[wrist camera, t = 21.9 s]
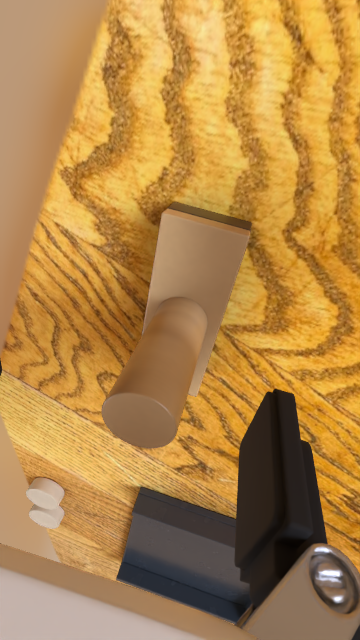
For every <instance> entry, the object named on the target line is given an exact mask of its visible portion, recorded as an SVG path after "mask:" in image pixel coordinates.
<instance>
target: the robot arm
mask: <svg viewBox="0 0 360 640" xmlns="http://www.w3.org/2000/svg"><path fill="white" fill-rule="evenodd" d="M1 373H2V366H1V360H0V376H1ZM234 561H235V566H236V567H238V568H240V581H242V582H245V583H248V584H250V599H251V601H252V604H251V605H250V606H249V608H248V609H247V610H246V611H245V612H244V614H243V615H242V616H241V617H240V618H239V620H238V621H237V622H236V623H235V624H234V625H233V624H231V623H229V622H226V621H224V620H222V619H219V618H217V617H214V616H212V615H210V614H207V613H205V612H202V611H200V610H197V609H194V608H191V607H188V606H186V605H183V604H180V603H177V602H174V601H171V600H169V599H166V598H163V597H160V596H157V595H154V594H152V593H149V592H146V591H143V590H140V589H137V588H134V587H131V586H128V585H125V584H122V583H119V582H116V581H113V580H110V579H107V578H104V577H101V576H98V575H95V574H92V573H89V572H86V571H83V570H80V569H77V568H74V567H71V566H68V565H65V564H62V563H58V562H55V561H53V560H50V559H47V558H43V557H40V556H37V555H34V554H31V553H28V552H25V551H22V550H19V549H16V548H13V547H10V546H7V545H3V544H1V543H0V640H360V574H359V572H358V570H357V568H356V567H355V566H354V564H353V563H352V562H351V561H350V559H349V558H348V557H347V556H346V555H344V554H343V553H342V552H341V551H340V550H338V549H337V548H335V547H333V546H331V545H328V544H327V538H326V532H325V526H324V520H323V514H322V508H321V502H320V496H319V490H318V484H317V478H316V472H315V466H314V460H313V454H312V449H311V446H310V444H309V443H308V442H306V441H303V440H301V439H300V431H299V424H298V417H297V410H296V403H295V397H294V394H292V393H288V392H285V391H282V390H278V389H275V390H274V391H273V392H267V393H266V395H265V397H264V399H263V401H262V402H261V404H260V406H259V408H258V410H257V412H256V414H255V416H254V418H253V420H252V422H251V424H250V426H249V428H248V430H247V432H246V434H245V436H244V437H243V439H242V442H241V445H240V451H239V471H238V493H237V514H236V536H235V559H234Z"/></svg>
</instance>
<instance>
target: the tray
mask: <svg viewBox="0 0 360 640" xmlns="http://www.w3.org/2000/svg"><path fill="white" fill-rule="evenodd" d="M132 515H133V519H132V523H131V527H130V531H129V535H128V539H127V543H126V547H125V551H124V555H123V559H122V563H121V566H120V569H119V572H118V575H117V578H116V580H118V581H120V582H123V583H126V584H128V585H131V586H134V587H136V588H139V589H142V590H144V591H147V592H150V593H153V594H155V595H158V596H161V597H163V598H166V599H169V600H171V601H174V602H177V603H180V604H183V605H186V606H188V607H191V608H194V609H197V610H200V611H202V612H205V613H207V614H210V615H212V616H214V617H217V618H219V619H222V620H225V621H227V622H230V623H233V624H235V623H236V622H237V621H238V620H239V618H240V617H241V616H242V615H243V614H244V612H245V611H246V610H247V609H248V608H249V606H250V605H251V604H252V601H251V599H250V584H248V583H245V582H242V581H240V568H238V567H236V566H235V561H234V559H235V536H236V519H233V518H230V517H227V516H224V515H221V514H218V513H216V512H213V511H210V510H207V509H204V508H201V507H198V506H195V505H193V504H190V503H187V502H184V501H181V500H178V499H175V498H172V497H169V496H167V495H164V494H161V493H158V492H155V491H152V490H149V489H146V488H144V487H141V488H140V491H139V494H138V497H137V500H136V503H135V505H134V508H133V511H132Z"/></svg>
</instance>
